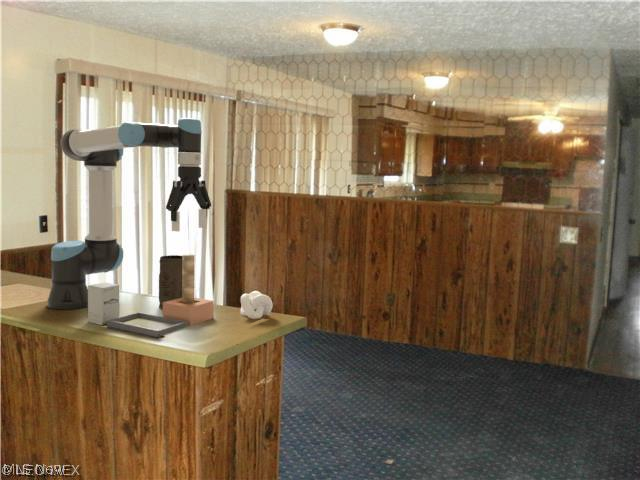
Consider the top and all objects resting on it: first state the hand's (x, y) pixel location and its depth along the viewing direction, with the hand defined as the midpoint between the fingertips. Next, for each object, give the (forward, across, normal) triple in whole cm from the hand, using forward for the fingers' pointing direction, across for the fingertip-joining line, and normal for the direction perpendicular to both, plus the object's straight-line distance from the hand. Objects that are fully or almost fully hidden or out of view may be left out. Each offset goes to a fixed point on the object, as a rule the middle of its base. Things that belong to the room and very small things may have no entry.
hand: (189, 229), depth 213 cm
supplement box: (+32, -16, +23) cm, 43 cm away
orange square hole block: (+32, 0, 0) cm, 32 cm away
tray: (+32, -14, +5) cm, 35 cm away
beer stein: (+32, +13, +17) cm, 38 cm away
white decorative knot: (+32, +16, -15) cm, 39 cm away
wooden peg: (+31, 0, 0) cm, 31 cm away
